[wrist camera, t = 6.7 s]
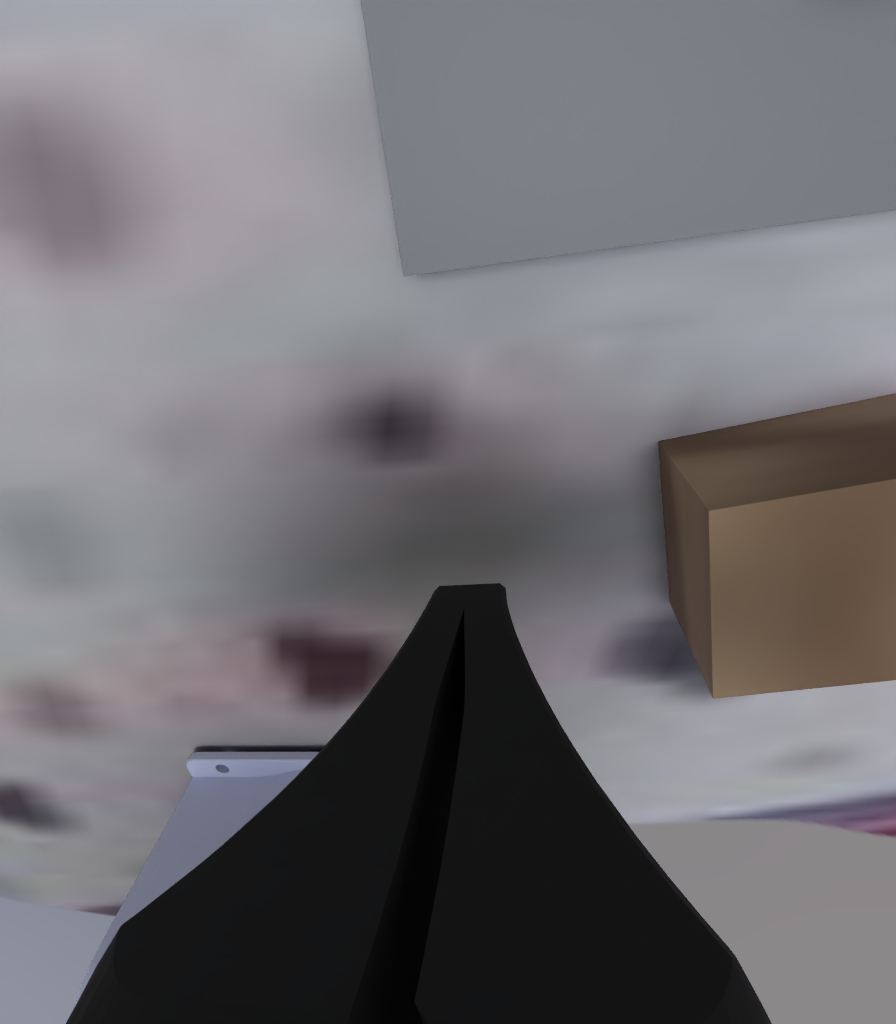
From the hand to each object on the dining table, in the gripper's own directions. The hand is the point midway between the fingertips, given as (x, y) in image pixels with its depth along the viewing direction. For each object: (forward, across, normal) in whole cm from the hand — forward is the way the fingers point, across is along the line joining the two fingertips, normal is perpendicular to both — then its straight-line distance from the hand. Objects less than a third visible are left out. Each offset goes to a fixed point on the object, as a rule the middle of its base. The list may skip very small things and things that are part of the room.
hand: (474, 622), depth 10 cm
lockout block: (+4, -7, 0) cm, 8 cm away
